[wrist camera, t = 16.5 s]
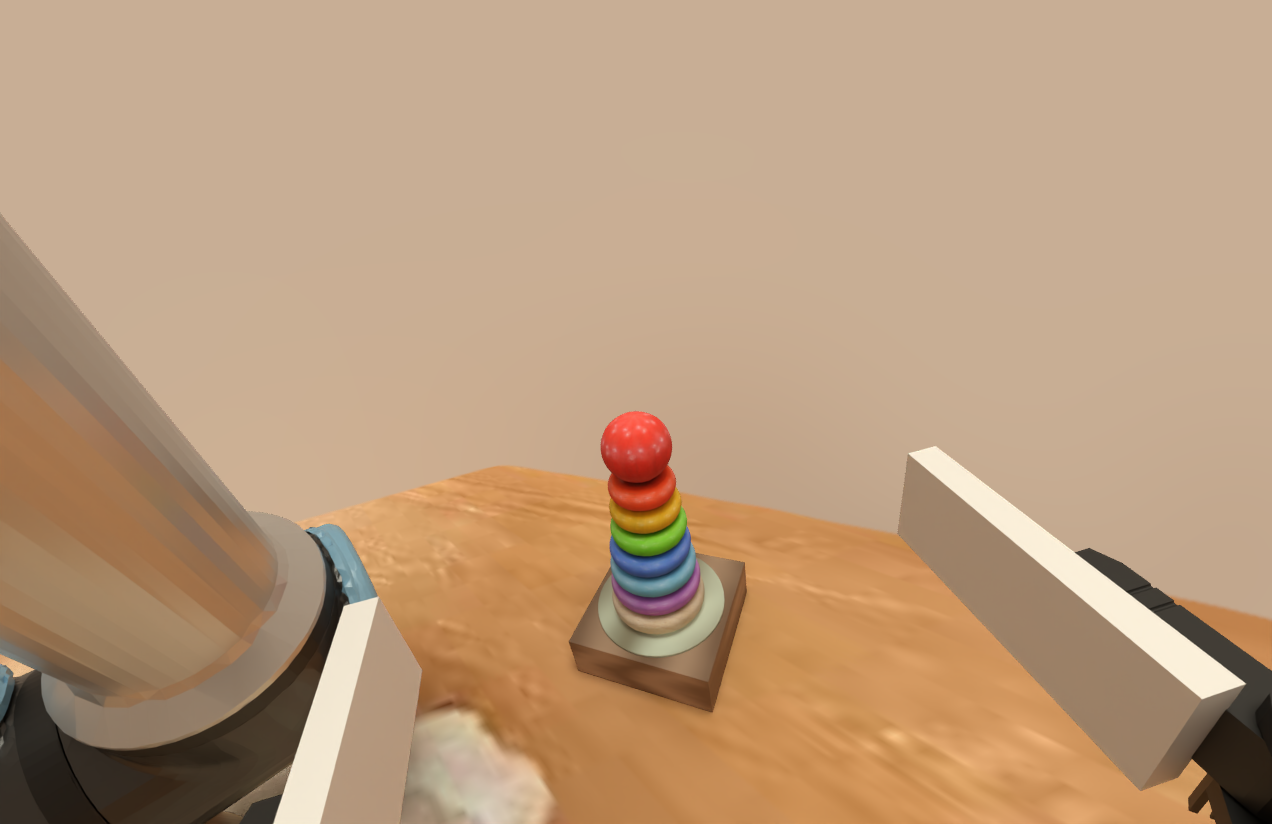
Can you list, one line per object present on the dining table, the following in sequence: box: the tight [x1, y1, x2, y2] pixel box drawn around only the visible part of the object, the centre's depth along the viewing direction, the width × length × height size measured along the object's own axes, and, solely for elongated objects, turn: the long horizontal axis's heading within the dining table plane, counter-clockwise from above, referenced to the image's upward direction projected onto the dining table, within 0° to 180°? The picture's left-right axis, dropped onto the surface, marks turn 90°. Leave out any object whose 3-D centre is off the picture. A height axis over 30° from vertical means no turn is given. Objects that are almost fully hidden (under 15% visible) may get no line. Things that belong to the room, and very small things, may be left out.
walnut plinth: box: [569, 553, 747, 712], centre depth 48 cm, size 12×12×4 cm
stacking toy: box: [601, 411, 705, 634], centre depth 42 cm, size 8×8×19 cm
